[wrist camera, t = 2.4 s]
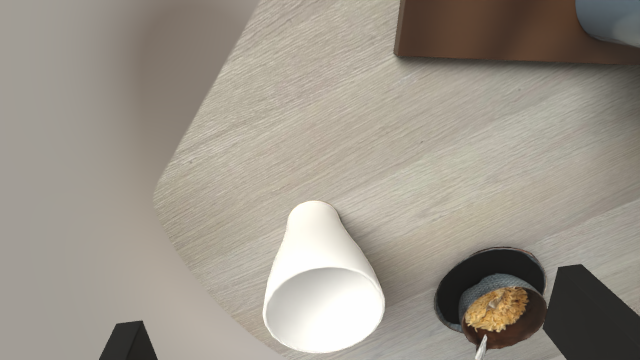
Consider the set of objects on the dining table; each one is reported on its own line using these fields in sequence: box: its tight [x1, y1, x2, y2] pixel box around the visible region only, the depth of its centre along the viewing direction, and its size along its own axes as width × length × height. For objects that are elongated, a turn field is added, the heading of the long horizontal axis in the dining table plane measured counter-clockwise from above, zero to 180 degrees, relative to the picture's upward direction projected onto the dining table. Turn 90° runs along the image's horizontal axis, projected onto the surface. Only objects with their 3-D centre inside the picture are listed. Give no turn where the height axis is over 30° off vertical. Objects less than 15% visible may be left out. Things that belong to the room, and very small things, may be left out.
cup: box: [263, 201, 385, 353], centre depth 38 cm, size 10×10×14 cm
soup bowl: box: [434, 247, 547, 360], centre depth 48 cm, size 15×16×7 cm
